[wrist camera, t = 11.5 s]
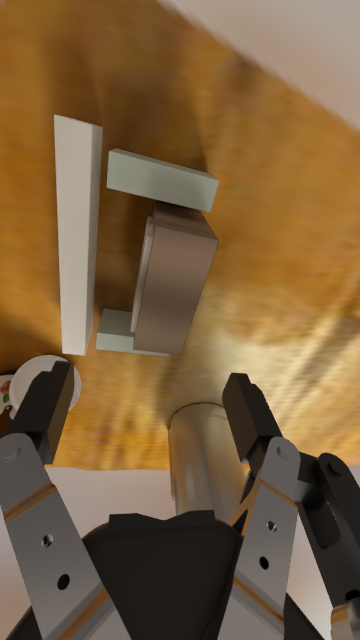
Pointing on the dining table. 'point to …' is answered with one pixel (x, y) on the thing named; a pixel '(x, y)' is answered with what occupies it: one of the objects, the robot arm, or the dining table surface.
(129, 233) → the dining table surface
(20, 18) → the dining table surface
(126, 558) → the robot arm
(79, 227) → the ledge
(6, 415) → the spread jar
